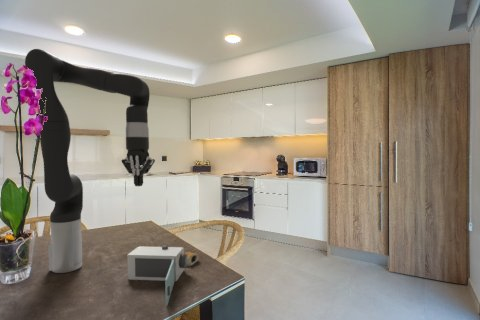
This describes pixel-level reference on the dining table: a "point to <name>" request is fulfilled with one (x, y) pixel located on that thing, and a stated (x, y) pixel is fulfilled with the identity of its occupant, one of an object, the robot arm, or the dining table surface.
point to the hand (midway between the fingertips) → (138, 185)
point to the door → (170, 280)
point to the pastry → (191, 258)
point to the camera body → (155, 262)
